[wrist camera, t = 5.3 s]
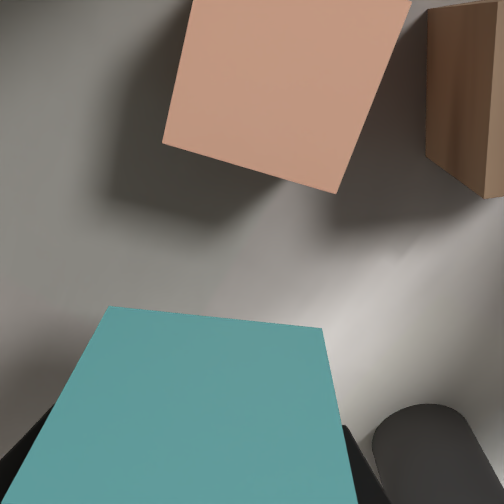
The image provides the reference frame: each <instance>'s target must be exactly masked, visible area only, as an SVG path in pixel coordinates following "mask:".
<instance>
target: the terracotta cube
mask: <svg viewBox="0 0 504 504" xmlns="http://www.w3.org/2000/svg"><path fill="white" fill-rule="evenodd" d="M411 4H412V2H410V1H408V0H193V3H192V8H191V12H190V17H189V22H188V26H187V31H186V35H185V40H184V44H183V49H182V54H181V58H180V63H179V67H178V72H177V76H176V81H175V86H174V90H173V95H172V99H171V104H170V108H169V113H168V118H167V122H166V127H165V131H164V136H163V140H162V143H163V144H167V145H170V146H174V147H177V148H180V149H184V150H187V151H191V152H194V153H197V154H201V155H204V156H208V157H211V158H214V159H218V160H221V161H225V162H228V163H231V164H235V165H238V166H242V167H245V168H248V169H252V170H255V171H259V172H262V173H265V174H269V175H272V176H276V177H279V178H282V179H286V180H289V181H293V182H296V183H299V184H303V185H306V186H310V187H313V188H316V189H320V190H323V191H327V192H330V193H333V194H336V193H337V191H338V188H339V186H340V183H341V180H342V178H343V175H344V173H345V170H346V168H347V165H348V163H349V160H350V158H351V155H352V153H353V150H354V148H355V145H356V143H357V140H358V138H359V135H360V132H361V130H362V127H363V125H364V122H365V120H366V117H367V115H368V112H369V110H370V107H371V105H372V102H373V100H374V97H375V95H376V92H377V90H378V87H379V84H380V82H381V79H382V77H383V74H384V72H385V69H386V67H387V64H388V62H389V59H390V57H391V54H392V52H393V49H394V47H395V44H396V41H397V39H398V36H399V34H400V31H401V29H402V26H403V24H404V21H405V19H406V16H407V14H408V11H409V9H410V6H411Z"/></svg>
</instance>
